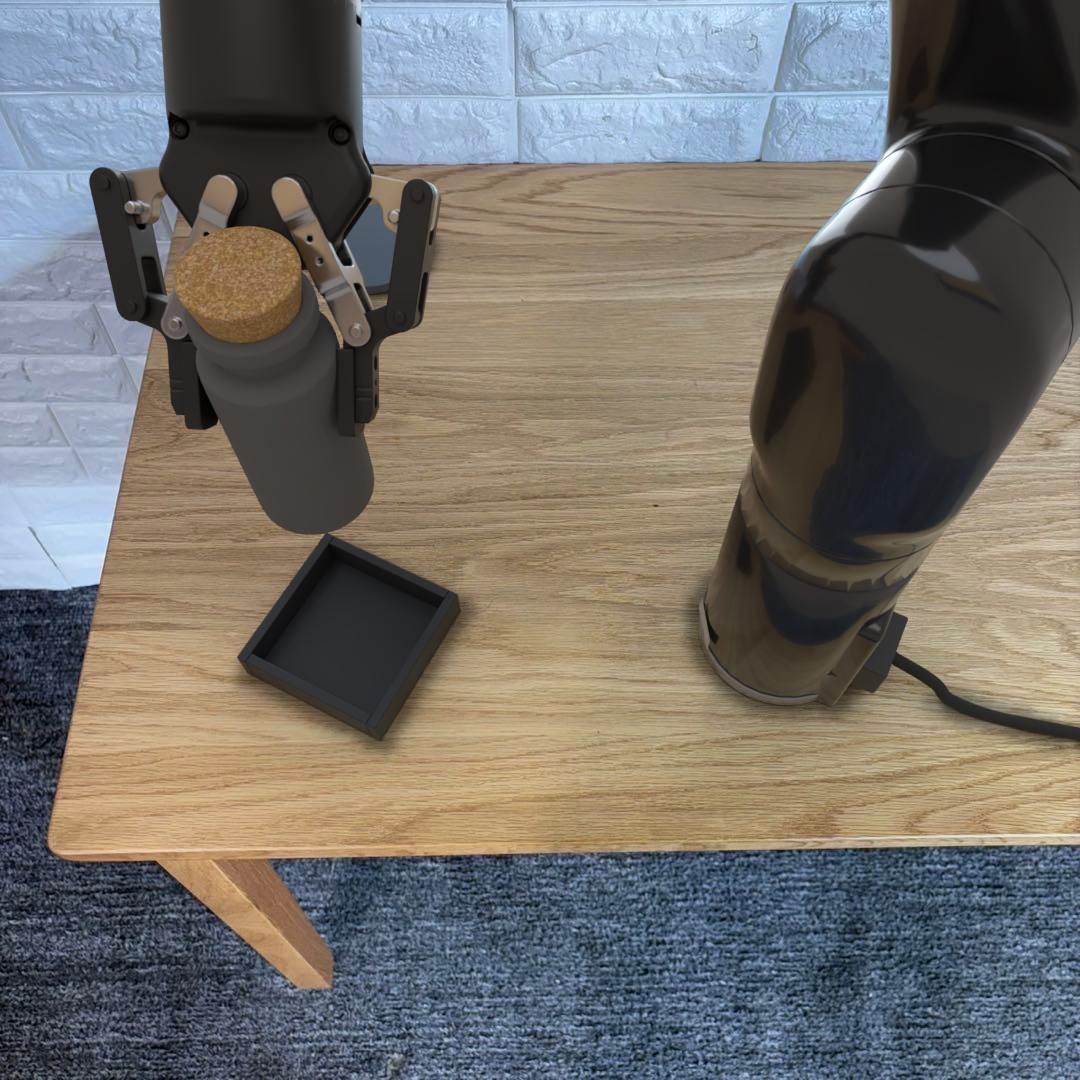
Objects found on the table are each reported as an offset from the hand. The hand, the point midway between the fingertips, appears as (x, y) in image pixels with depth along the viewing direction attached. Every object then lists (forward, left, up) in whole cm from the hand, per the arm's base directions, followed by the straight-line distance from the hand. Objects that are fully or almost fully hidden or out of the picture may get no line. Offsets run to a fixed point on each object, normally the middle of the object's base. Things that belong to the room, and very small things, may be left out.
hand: (277, 429), depth 43 cm
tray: (-1, +1, -20) cm, 20 cm away
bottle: (+1, -2, -7) cm, 8 cm away
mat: (+15, -26, -20) cm, 36 cm away
